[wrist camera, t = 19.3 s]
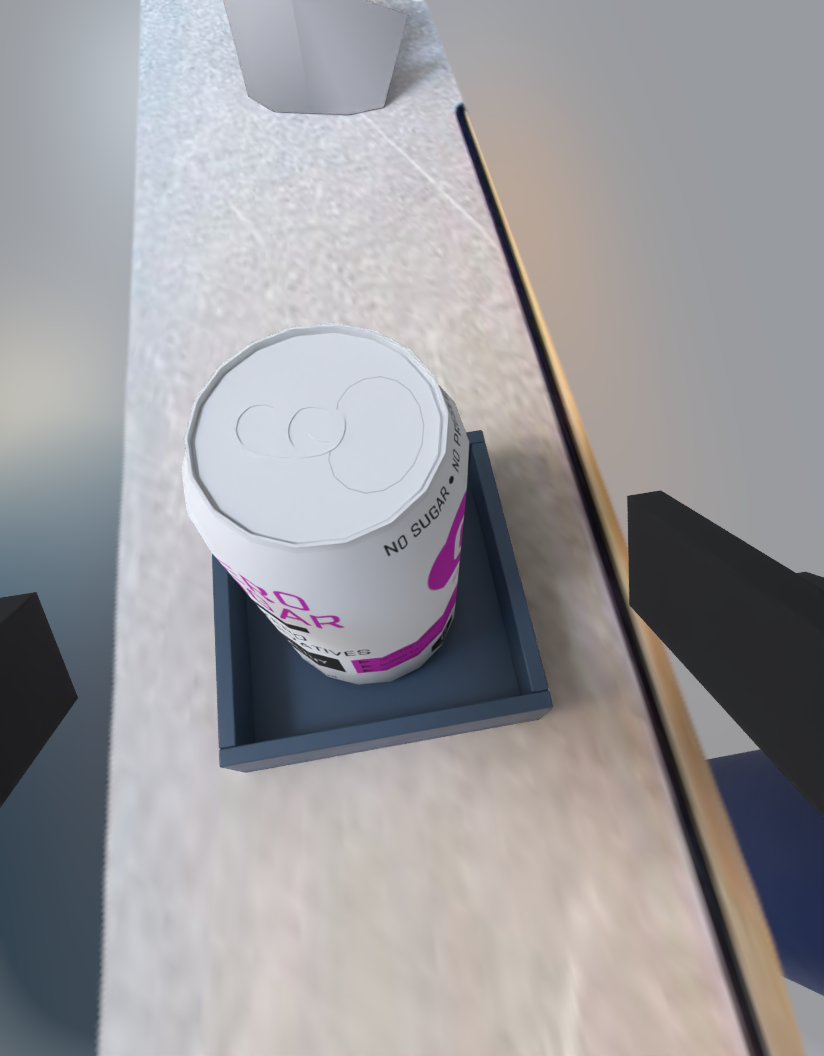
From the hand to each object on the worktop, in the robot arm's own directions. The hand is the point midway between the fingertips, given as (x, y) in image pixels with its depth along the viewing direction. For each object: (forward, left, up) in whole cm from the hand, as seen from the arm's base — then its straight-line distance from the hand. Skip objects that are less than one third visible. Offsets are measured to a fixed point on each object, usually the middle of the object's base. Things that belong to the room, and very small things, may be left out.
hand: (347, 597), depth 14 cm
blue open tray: (+4, -4, -16) cm, 17 cm away
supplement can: (+4, -3, -16) cm, 16 cm away
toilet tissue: (+32, -36, -16) cm, 51 cm away
